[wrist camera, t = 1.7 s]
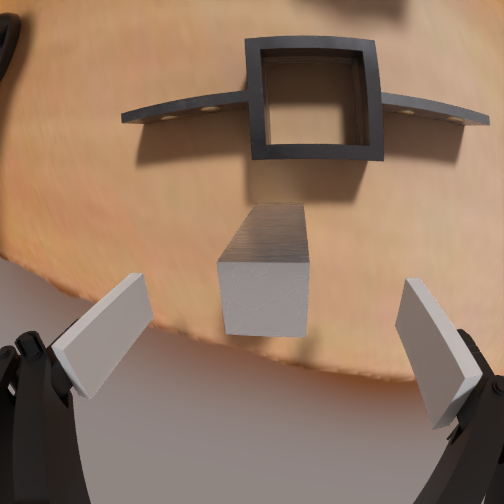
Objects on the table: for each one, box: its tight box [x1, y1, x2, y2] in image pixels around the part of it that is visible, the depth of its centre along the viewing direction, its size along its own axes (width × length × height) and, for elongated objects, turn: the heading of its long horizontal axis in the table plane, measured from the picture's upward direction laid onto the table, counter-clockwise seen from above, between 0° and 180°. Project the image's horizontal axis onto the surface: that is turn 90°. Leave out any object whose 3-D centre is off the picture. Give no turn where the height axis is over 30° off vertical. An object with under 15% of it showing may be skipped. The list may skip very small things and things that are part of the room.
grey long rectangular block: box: [217, 203, 310, 337], centre depth 18 cm, size 4×4×12 cm
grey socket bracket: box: [121, 36, 490, 161], centre depth 17 cm, size 9×29×4 cm, turn 93°
